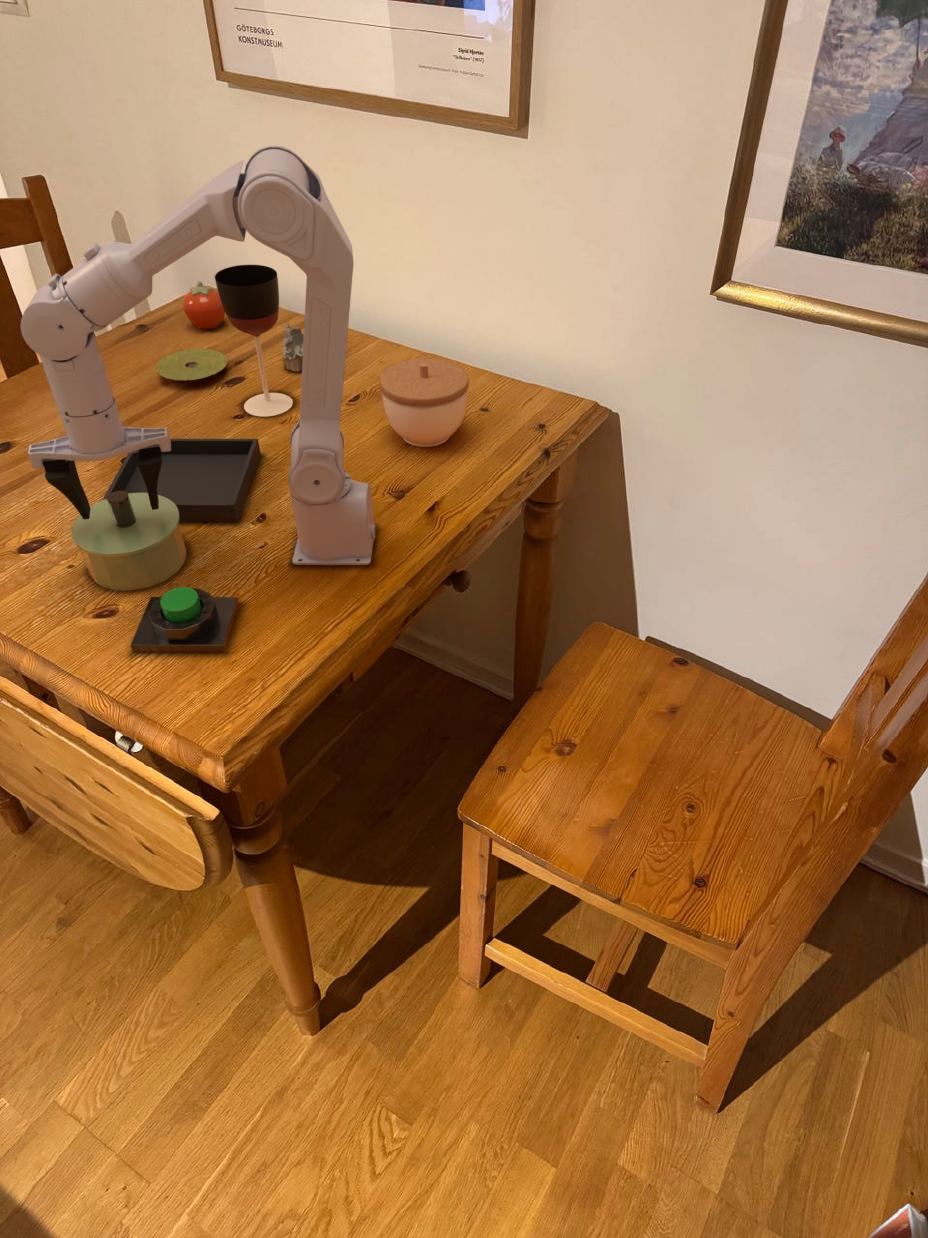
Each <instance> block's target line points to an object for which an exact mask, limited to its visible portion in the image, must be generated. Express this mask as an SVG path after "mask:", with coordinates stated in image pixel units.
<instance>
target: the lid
mask: <svg viewBox="0 0 928 1238" xmlns="http://www.w3.org/2000/svg"><path fill="white" fill-rule="evenodd" d="M158 499H159V508H158V509H155V510H152V507H151V505H150V500H149V496H148V493H129V494H128V493H127V492H125V491H115V492H112V493H110V494H109V495H108V496H107V499H105V500H103V499H102V500H100V501H99V502H96V503H94V504H93V505H90V518H89V519H83V518H82V516H81V515H80V514H79V515H78V517H76V519H75V521H73V525H72V528H71V537H72V541H73V542H74V544H75V546H76V547H77V548H79V550H80V549H81V550H83V551H84V552H86V553H89V554H92V555H96V556H102V557H121V556H128V555H133V554H137V553H141V552H143V551H146V550H149V549H151V548H153V547H155V546H157V545H159V544H160V543H162V542H164V541H165V540H166V539H167V538H169V537H170V536H171V535H172V534H173V533H174V531H175V530H176V528H177V527H178V524H179V525H180V522H179V521H180V514H179V510H178V508H177V506H176V505H175V504H174V503H173V502H172V501H171V500H169V499H168V498H166V497H163V496H160V495H158ZM81 550H80V551H81Z"/></svg>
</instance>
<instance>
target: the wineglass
mask: <svg viewBox="0 0 928 1238" xmlns="http://www.w3.org/2000/svg"><path fill="white" fill-rule="evenodd" d="M214 281H215V284H216V290H217V291H218V293H219V296H220V300H221V303H222V306H223V308H224V311H225V316H226V318H227V319H228V321H229V323H230V324H231V326H232V327H233V328H235V329H236V330H238V331H240V332H242V333H245V334H248V335H250V336H253V338H254V344H255V350H256V356H257V362H258V368H259V372H260V378H261V384H262V390H263V393H260V394H257V395H253V396H252V397H249V398H248V399H247V400H246V401H245V403H244V405H243V409H244V411H245V412H246V413H247V414H249V415H251V416H257V417H273V416H278V415H281V414H283V413H285V412H287V411H289V410H290V409H291V408H292V406H293V405H294V401H293V399H292V398H291V397H290V396H289V395H286V394H284V393H280V392H270V391H269V385H268V380H267V373H266V367H265V361H264V355H263V350H262V344H261V337H260V336H261V335H262V334H265V333H266V332H268V331H270V330H271V329H273V328H274V326H275V325H276V324H277V321H278V319H279V313H280V288H279V278H278V272H277V271H276V269H274V268H273V267H271V266H266V265H261V264H239V265H233V266H228V267H225V268H223V269H221V270H219V271H217V272H216V273H215V274H214Z"/></svg>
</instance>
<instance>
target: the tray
mask: <svg viewBox="0 0 928 1238" xmlns="http://www.w3.org/2000/svg"><path fill="white" fill-rule="evenodd" d="M170 441H171V451H167V452H162V465H161V470H160V473H159V477H158V483H157V493H158V495H160V496H163V497H166V498H168V499H169V500H171V501H172V502H173V503H174V504H175V505H176V506H177V508H178V510H179V514H180V521H179V523H239V521H240V518H241V515H242V512H243V509H244V506H245V504H246V501H247V498H248V494H249V493H250V489H251V486H252V483H253V480H254V477H255V475H256V472H257V468H258V466H259V462H260V460H261V457H262V453H261V448H260V443H259V439H258V438H170ZM138 457H139V452H136V453H128V454H126V457H125V458H124V460H123V462H122V464H121V465H120V467H119V469H118V471H117V473H116V474H115V476H114V479H113V480H112V482H111V484H110V485H109V487H108V489H107V491H106V492H105V494H104V496H103V498H102V500H105V499H107V496H108V495H109V494H110V493H112V492H115V491H125V492H127V493H128V494H129V493H148V491H147V487H146V484H145V482H144V479H143V476H142V474H141V472H140V469H139V467H138Z"/></svg>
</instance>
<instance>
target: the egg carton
mask: <svg viewBox="0 0 928 1238" xmlns="http://www.w3.org/2000/svg"><path fill="white" fill-rule="evenodd" d="M303 343H304V333H302V329H301V328H300V327H299V326H293V327H292V326H290V324H289V323H287V324H286V326H285V330H284V339H283V345H282V354H283V359H284V360H285V362H286V370H289V371H292V372H302V363H303Z"/></svg>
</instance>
